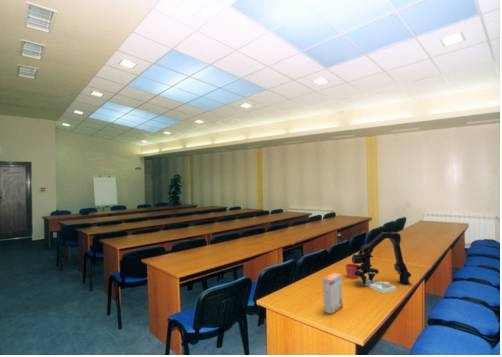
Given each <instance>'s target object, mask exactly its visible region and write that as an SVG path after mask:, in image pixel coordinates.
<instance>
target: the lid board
mask: <svg viewBox="0 0 502 357" xmlns="http://www.w3.org/2000/svg"><path fill="white" fill-rule="evenodd" d="M376 282H378V281H376V280H374V279H373V280H372V282H371V284H372V283H376ZM358 284H360V285H363V286H365V285H364V284H363V281H362V280H361V281H358Z"/></svg>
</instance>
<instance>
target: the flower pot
mask: <svg viewBox="0 0 502 357" xmlns="http://www.w3.org/2000/svg"><path fill="white" fill-rule="evenodd" d="M355 265H357V264H353V263H347V264H345V270H346V275H347V278H348V279H349V278H350V279H358V278H359V276H356V275H355V271H360V270H357V269H356V268H355Z"/></svg>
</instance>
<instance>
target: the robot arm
mask: <svg viewBox="0 0 502 357" xmlns="http://www.w3.org/2000/svg"><path fill="white" fill-rule="evenodd" d="M401 238H402V237H401V234H400V233H398V232H395V231H390V232H389V231H388V232H387V231H386V232H383V231H381V232H380V233H379V234H378V235H376V237H375V238H374V239H372V240H371V241H370V242H369V243H366V244H364V245H362V246H361V247H360V249H359V251H358V252H357V254H352V256H351V263H352V264H356V265H355V268H356V269H357V270H359V271H355V275H356V276H358V278H361V281H363V284H365V283H366V278H367V276H368V279H370V280H371V282H372V280H374V278H375V276H376V275H377V274H379V272H380V271H379V269H378V268H375V267H373V265H372V264H371V258H374V256H373V255H372V253H373V251H374V249H375V248H376V247H377V246H378V245H379V244H381V243H382V242H383V241H384V240H385V239H389V241H390V242H391V243H392V248H393V252H394V258H395V263H394V264H393V266H394V270H395V271H396V272H397V274H398V275H399V279H398V281H397V283H399V284H402V285H404V286H407V285H412V283H411V282H410V278H411V276H412V273H410V271H408V268H407V265H406V263H405V262H404V259H403V254H402V248H401V241H402V239H401ZM359 264H360V265H359ZM366 275H367V276H366ZM363 284H362V285H363Z"/></svg>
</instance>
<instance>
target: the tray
mask: <svg viewBox="0 0 502 357" xmlns="http://www.w3.org/2000/svg"><path fill="white" fill-rule="evenodd" d="M382 282H383V281H377V282H376V283H372V284H370V286H369V288H370V289H372V290H375V291H377V292H379V293H382V294H387V293H391V292H395V291H397V287H396V286H394V285H392V284H390V288H387V289H382Z"/></svg>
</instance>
